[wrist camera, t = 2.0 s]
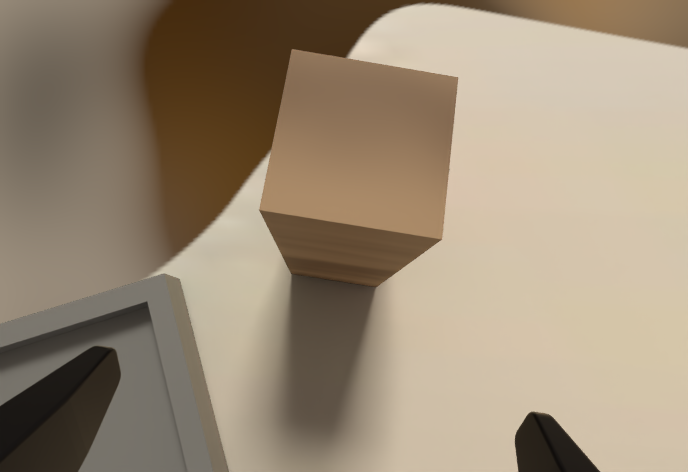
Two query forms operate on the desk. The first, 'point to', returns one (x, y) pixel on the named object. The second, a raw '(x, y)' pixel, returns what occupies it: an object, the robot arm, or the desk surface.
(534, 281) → the desk surface
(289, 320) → the desk surface
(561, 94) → the desk surface
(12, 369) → the tray
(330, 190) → the block
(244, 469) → the desk surface
